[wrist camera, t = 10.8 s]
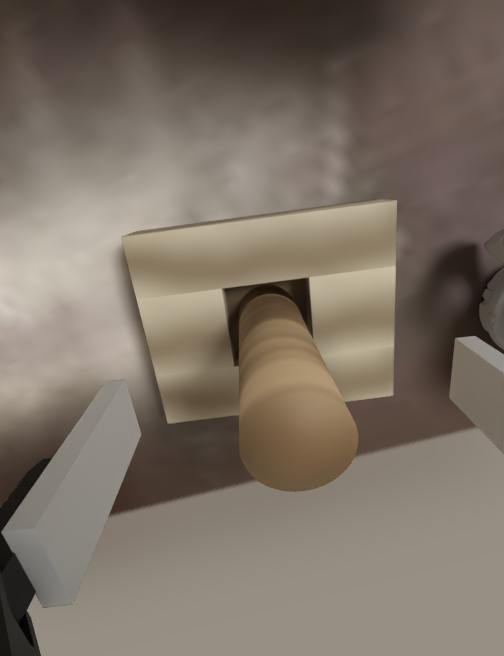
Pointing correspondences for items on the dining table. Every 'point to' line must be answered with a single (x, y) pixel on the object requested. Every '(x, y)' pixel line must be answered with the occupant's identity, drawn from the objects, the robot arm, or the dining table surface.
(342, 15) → the dining table surface
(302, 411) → the leg
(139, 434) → the robot arm
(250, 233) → the wooden block with hole
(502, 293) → the mug
